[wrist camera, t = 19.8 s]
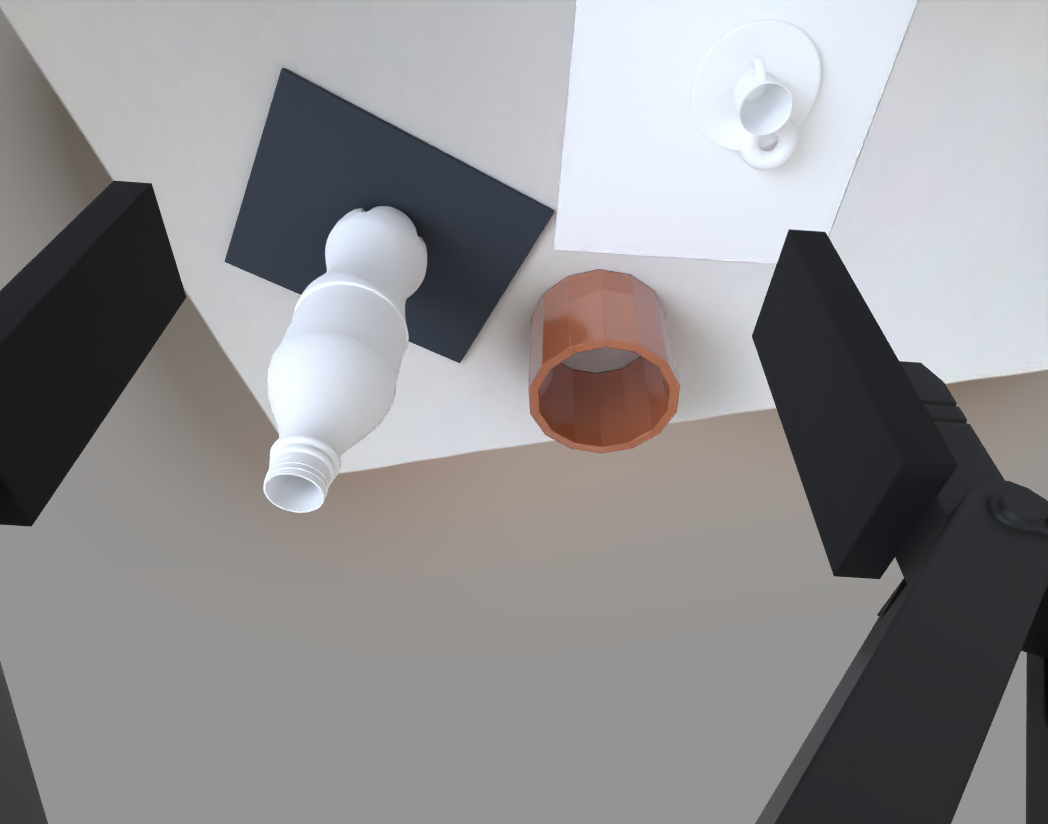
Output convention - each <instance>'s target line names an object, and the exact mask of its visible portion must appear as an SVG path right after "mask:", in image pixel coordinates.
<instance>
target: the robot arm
mask: <svg viewBox="0 0 1048 824" xmlns="http://www.w3.org/2000/svg"><path fill="white" fill-rule="evenodd" d="M185 298H186V295H185V292H184V288H183V285H182V282H181V278H180V275H179V272H178V269H177V265H176V262H175V259H174V255H173V252H172V249H171V246H170V242H169V239H168V236H167V233H166V229H165V226H164V223H163V219H162V216H161V213H160V210H159V206H158V203H157V200H156V196H155V193H154V190H153V187H152V184H151V183H137V182H123V181H113V182H112V183H111V184H110V185H109V186H108V187H107V188H106V189H105V190H104V191H103V192H102V193H101V194H100V195H99V196H98V197H96V199H94V200H93V201H92V202H91V204H89V205H88V206H87V207H86V208H85V209H84V210H83V211H82V212H81V213H80V214H79V215H78V216H77V217H76V218H75V219H74V220H73V221H72V222H71V223H70V224H69V225H68V226H67V227H66V228H65V229H64V230H62V232H60V233H59V234H58V235H57V236H56V237H55V238H54V239H53V240H52V241H51V242H50V243H49V244H48V245H47V246H46V247H45V248H44V249H43V250H42V251H41V252H40V253H39V254H38V255H37V256H36V257H35V258H34V259H33V260H32V261H31V262H29V263H28V264H27V265H26V266H25V267H24V268H23V269H22V270H21V271H20V272H19V273H18V274H17V275H16V276H15V277H14V278H13V279H12V280H11V281H10V282H9V283H8V284H7V285H6V286H5V287H4V288H3V289H2V290H1V291H0V524H2V525H17V526H18V525H19V526H32V525H33V523H34V522H35V520H36V519H37V517H38V516H39V515H40V513H41V512H42V510H43V509H44V507H45V506H46V504H47V503H48V501H49V500H50V498H51V497H52V495H53V494H54V492H55V491H56V489H57V488H58V487H59V485H60V484H61V482H62V481H63V479H64V477H65V476H66V475H67V473H68V472H69V470H70V469H71V467H72V466H73V464H74V463H75V461H76V460H77V458H78V457H79V455H80V454H81V452H82V451H83V450H84V448H85V447H86V445H87V444H88V442H89V441H90V439H91V438H92V436H93V435H94V433H95V432H96V430H97V429H98V427H99V426H100V424H101V423H102V421H103V420H104V418H105V417H106V415H107V414H108V413H109V411H110V409H111V408H112V406H113V405H114V404H115V402H116V401H117V399H118V398H119V396H120V395H121V393H122V392H123V390H124V389H125V387H126V386H127V384H128V383H129V381H130V380H131V378H132V377H133V375H134V374H135V373H136V371H137V370H138V368H139V367H140V365H141V364H142V362H143V361H144V359H145V358H146V356H147V355H148V353H149V352H150V350H151V349H152V347H153V346H154V344H155V343H156V341H157V340H158V338H159V337H160V336H161V334H162V332H163V331H164V330H165V328H166V327H167V325H168V324H169V322H170V321H171V319H172V318H173V316H174V315H175V313H176V311H177V310H178V309H179V307H180V306H181V304H182V303H183V301H184V300H185ZM752 338H753V341H754V344H755V346H756V349H757V352H758V355H759V358H760V361H761V364H762V367H763V370H764V373H765V376H766V379H767V382H768V384H769V387H770V390H771V393H772V396H773V399H774V402H775V405H776V408H777V411H778V414H779V417H780V420H781V423H782V425H783V428H784V431H785V434H786V437H787V440H788V443H789V446H790V449H791V451H792V454H793V458H794V461H795V464H796V466H797V469H798V472H799V475H800V478H801V481H802V484H803V487H804V489H805V493H806V496H807V498H808V501H809V504H810V507H811V510H812V513H813V516H814V519H815V522H816V525H817V528H818V531H819V534H820V537H821V539H822V542H823V545H824V548H825V551H826V554H827V557H828V560H829V563H830V566H831V569H832V572H833V575H834V576H840V577H855V578H856V577H857V578H872V579H880V578H881V576H882V575H883V574H884V572H885V571H886V569H887V568H888V566H889V565H890V563H891V562H892V561H893V559H894V558H895V557H896V560H897V562H898V564H899V567H900V569H901V571H902V574H903V576H904V579H903V580H902V582H901V583H900V584H899V586H898V587H897V588H896V590H895V591H894V592H893V594H892V595H891V597H890V598H889V599H888V601H887V602H886V604H885V605H884V606H883V608H882V609H881V610H880V612H879V613H878V614H877V615H878V616H879V618H878V620H877V622H876V623H875V625H874V626H873V628H872V630H871V631H870V633H869V635H868V637H867V638H866V640H865V641H864V643H863V645H862V647H861V648H860V650H859V651H858V653H857V655H856V656H855V658H854V660H853V662H852V663H851V665H850V667H849V668H848V670H847V671H846V673H845V675H844V677H843V678H842V680H841V682H840V683H839V685H838V686H837V688H836V690H835V692H834V693H833V695H832V697H831V698H830V700H829V702H828V703H827V705H826V707H825V708H824V710H823V712H822V713H821V715H820V717H819V718H818V720H817V722H816V723H815V725H814V726H813V728H812V730H811V731H810V733H809V735H808V736H807V738H806V740H805V742H804V743H803V745H802V747H801V748H800V750H799V752H798V753H797V755H796V756H795V758H794V760H793V762H792V763H791V765H790V767H789V768H788V770H787V771H786V773H785V775H784V776H783V778H782V780H781V782H780V783H779V785H778V787H777V788H776V790H775V791H774V793H773V795H772V796H771V798H770V800H769V801H768V803H767V805H766V806H765V808H764V810H763V812H762V813H761V815H760V816H759V818H758V820H757V822H756V823H755V824H951V822H952V820H953V817H954V815H955V812H956V810H957V807H958V805H959V802H960V800H961V797H962V795H963V792H964V790H965V787H966V785H967V783H968V780H969V778H970V775H971V772H972V770H973V768H974V765H975V763H976V760H977V758H978V755H979V753H980V750H981V748H982V746H983V743H984V741H985V738H986V736H987V733H988V730H989V728H990V726H991V723H992V721H993V718H994V716H995V713H996V711H997V708H998V706H999V704H1000V701H1001V699H1002V696H1003V694H1004V691H1005V689H1006V686H1007V684H1008V681H1009V679H1010V676H1011V674H1012V671H1013V669H1014V667H1015V663H1016V662H1017V659H1018V657H1019V654H1020V652H1021V651H1024V652H1027V722H1026V724H1027V725H1026V731H1027V732H1026V734H1027V735H1026V737H1027V738H1026V741H1027V742H1026V824H1048V501H1047V500H1046V499H1044V498H1042V497H1041V496H1039V495H1038V494H1036V493H1034V492H1033V491H1031V490H1030V489H1028V488H1026V487H1023V486H1020V485H1018V484H1015V483H1013V482H1009V481H1005V480H1004V479H1003V477H1002V475H1001V474H1000V472H999V470H998V469H997V467H996V466H995V464H994V462H993V461H992V459H991V458H990V456H989V454H988V453H987V451H986V449H985V448H984V446H983V445H982V443H981V442H980V440H979V438H978V437H977V435H976V434H975V432H974V430H973V429H972V427H971V426H970V424H967V423H966V421H967V419H966V418H965V416H964V414H963V413H962V411H961V409H960V408H959V407H956V401H955V400H954V398H953V397H952V395H951V393H950V392H949V390H948V389H947V387H946V385H945V384H944V382H943V381H942V380H941V379H939V378H938V377H937V376H936V375H935V374H933V373H932V372H931V371H930V370H929V369H928V368H926V367H925V366H924V365H923V364H922V363H916V362H901V361H899V360H898V358H897V357H896V355H895V353H894V351H893V350H892V348H891V346H890V344H889V343H888V341H887V339H886V337H885V336H884V334H883V332H882V330H881V329H880V327H879V325H878V323H877V322H876V320H875V318H874V316H873V315H872V313H871V311H870V309H869V308H868V306H867V304H866V302H865V301H864V299H863V297H862V295H861V294H860V292H859V290H858V288H857V287H856V285H855V283H854V281H853V280H852V278H851V276H850V274H849V273H848V271H847V269H846V267H845V265H844V264H843V262H842V260H841V258H840V257H839V255H838V253H837V251H836V250H835V248H834V246H833V244H832V243H831V241H830V239H829V237H828V236H827V234H826V232H821V231H807V230H793V229H789V230H788V233H787V236H786V239H785V242H784V245H783V248H782V250H781V253H780V256H779V259H778V262H777V265H776V268H775V271H774V274H773V277H772V280H771V282H770V285H769V288H768V291H767V294H766V297H765V300H764V303H763V306H762V309H761V311H760V314H759V317H758V320H757V323H756V326H755V329H754V332H753V335H752ZM0 824H48V822H47V819H46V816H45V812H44V809H43V805H42V802H41V799H40V795H39V792H38V788H37V785H36V782H35V779H34V775H33V771H32V768H31V765H30V761H29V758H28V754H27V751H26V748H25V745H24V741H23V737H22V734H21V731H20V727H19V724H18V720H17V717H16V714H15V710H14V707H13V703H12V700H11V697H10V693H9V690H8V686H7V683H6V680H5V676H4V673H3V670H2V666H1V663H0Z"/></svg>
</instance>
